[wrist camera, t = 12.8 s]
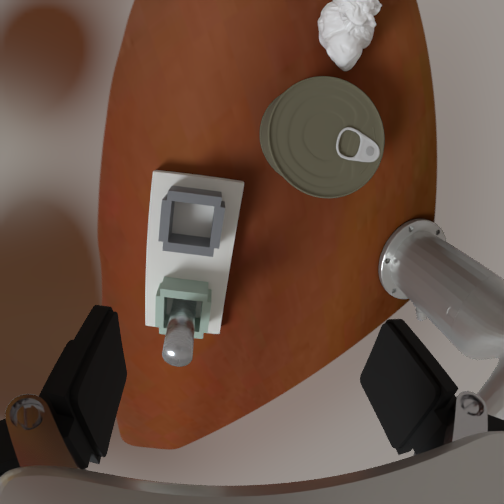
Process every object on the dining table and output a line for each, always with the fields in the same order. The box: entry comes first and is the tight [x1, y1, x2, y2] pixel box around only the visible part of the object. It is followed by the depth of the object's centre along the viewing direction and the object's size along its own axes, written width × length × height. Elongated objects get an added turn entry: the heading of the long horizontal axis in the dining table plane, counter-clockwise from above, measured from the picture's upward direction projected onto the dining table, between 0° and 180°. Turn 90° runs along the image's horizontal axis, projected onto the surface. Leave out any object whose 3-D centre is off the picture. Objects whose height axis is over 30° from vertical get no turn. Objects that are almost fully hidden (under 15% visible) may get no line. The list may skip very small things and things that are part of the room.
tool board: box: [145, 170, 244, 339], centre depth 34 cm, size 20×10×4 cm, turn 170°
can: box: [260, 76, 385, 198], centre depth 29 cm, size 12×12×7 cm
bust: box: [318, 0, 382, 71], centre depth 23 cm, size 12×8×11 cm
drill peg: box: [162, 298, 197, 366], centre depth 32 cm, size 3×3×10 cm
